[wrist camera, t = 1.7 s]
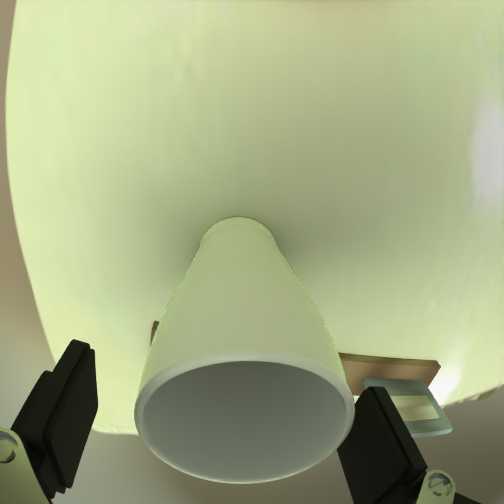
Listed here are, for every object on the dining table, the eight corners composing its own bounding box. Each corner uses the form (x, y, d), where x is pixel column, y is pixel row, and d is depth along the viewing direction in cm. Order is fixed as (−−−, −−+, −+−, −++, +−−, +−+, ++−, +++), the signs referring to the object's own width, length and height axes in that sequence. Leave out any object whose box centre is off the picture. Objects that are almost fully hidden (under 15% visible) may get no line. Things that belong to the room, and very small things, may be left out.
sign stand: (436, 360, 28) (474, 413, 20) (418, 389, 29) (449, 443, 21) (154, 321, 24) (129, 394, 17) (150, 359, 25) (129, 431, 18)
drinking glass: (282, 297, 24) (330, 480, 10) (189, 294, 23) (149, 479, 9) (291, 206, 21) (388, 346, 7) (188, 201, 21) (109, 340, 7)
